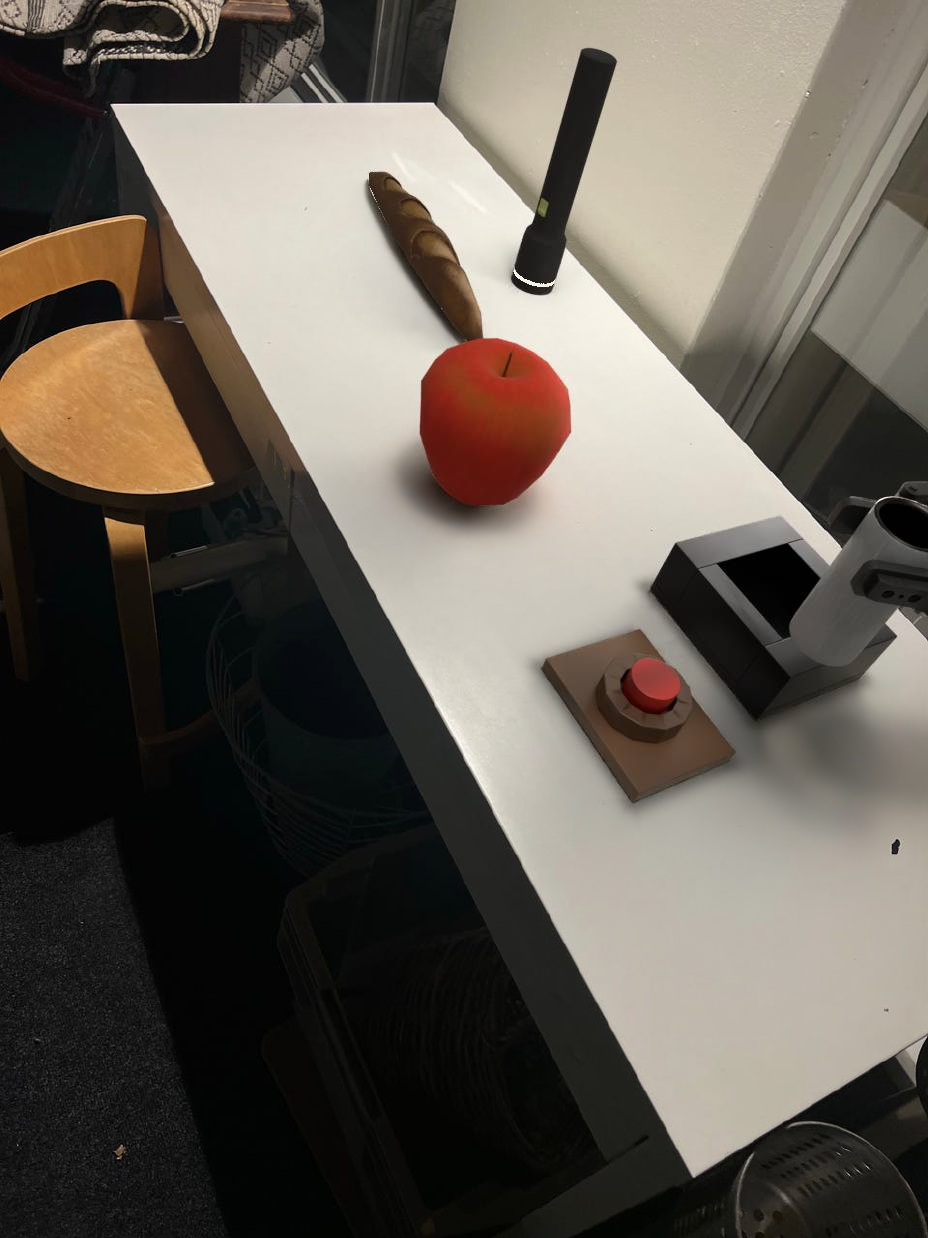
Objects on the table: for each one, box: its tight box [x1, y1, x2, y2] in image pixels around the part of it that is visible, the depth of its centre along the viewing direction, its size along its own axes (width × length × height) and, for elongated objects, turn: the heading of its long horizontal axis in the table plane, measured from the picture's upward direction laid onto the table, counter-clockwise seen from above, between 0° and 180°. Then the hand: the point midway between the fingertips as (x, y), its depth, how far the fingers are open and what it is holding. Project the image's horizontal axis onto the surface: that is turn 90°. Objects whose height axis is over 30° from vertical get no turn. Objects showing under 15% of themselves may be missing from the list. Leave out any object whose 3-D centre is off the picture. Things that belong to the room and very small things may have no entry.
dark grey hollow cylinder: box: [789, 496, 928, 667], centre depth 54 cm, size 4×4×10 cm
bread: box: [368, 171, 484, 342], centre depth 100 cm, size 38×5×5 cm, turn 21°
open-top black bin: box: [649, 514, 898, 721], centre depth 72 cm, size 14×12×6 cm
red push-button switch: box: [541, 628, 736, 803], centre depth 65 cm, size 12×9×3 cm
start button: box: [623, 658, 680, 714], centre depth 63 cm, size 4×4×2 cm
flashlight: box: [510, 47, 618, 296], centre depth 96 cm, size 5×24×5 cm
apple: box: [419, 337, 572, 508], centre depth 73 cm, size 12×12×14 cm
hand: (848, 544), depth 52 cm, fingers closed on dark grey hollow cylinder, 4 cm apart
